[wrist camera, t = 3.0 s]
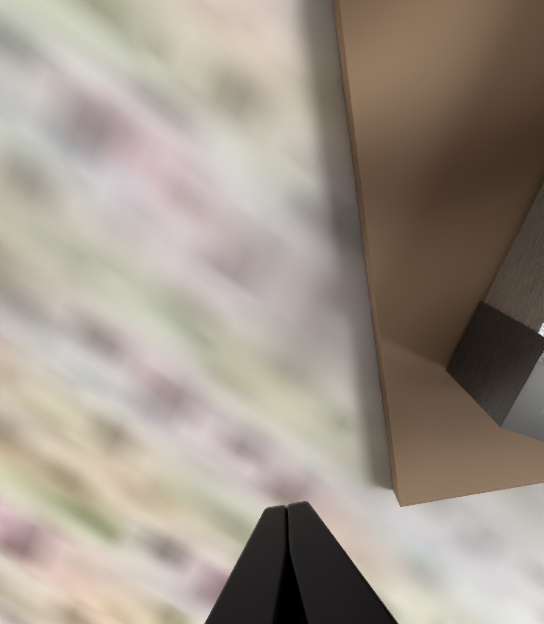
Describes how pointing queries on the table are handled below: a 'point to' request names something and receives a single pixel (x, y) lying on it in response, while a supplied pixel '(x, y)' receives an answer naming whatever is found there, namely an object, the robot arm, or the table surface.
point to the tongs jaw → (510, 336)
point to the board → (441, 214)
